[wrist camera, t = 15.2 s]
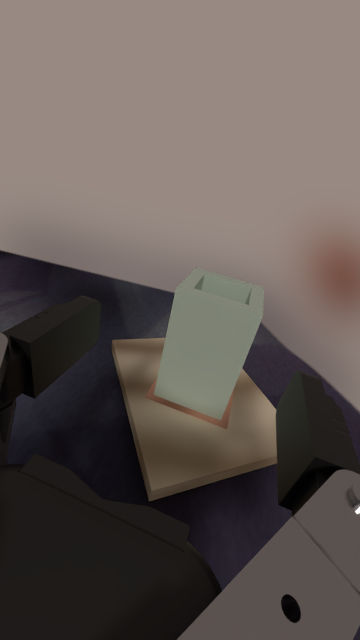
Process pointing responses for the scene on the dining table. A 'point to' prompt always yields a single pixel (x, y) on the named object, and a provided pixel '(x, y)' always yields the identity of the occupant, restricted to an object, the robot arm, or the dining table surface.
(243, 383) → the post board
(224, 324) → the sleeve
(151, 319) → the dining table surface
